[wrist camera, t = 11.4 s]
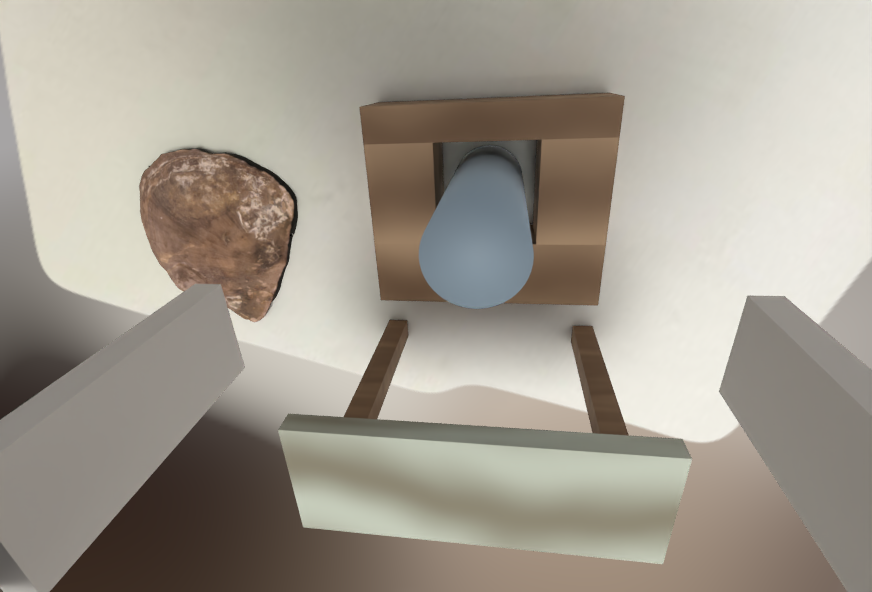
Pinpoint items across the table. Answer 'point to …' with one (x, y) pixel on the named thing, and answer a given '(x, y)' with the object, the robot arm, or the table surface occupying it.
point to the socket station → (547, 284)
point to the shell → (220, 225)
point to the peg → (479, 233)
